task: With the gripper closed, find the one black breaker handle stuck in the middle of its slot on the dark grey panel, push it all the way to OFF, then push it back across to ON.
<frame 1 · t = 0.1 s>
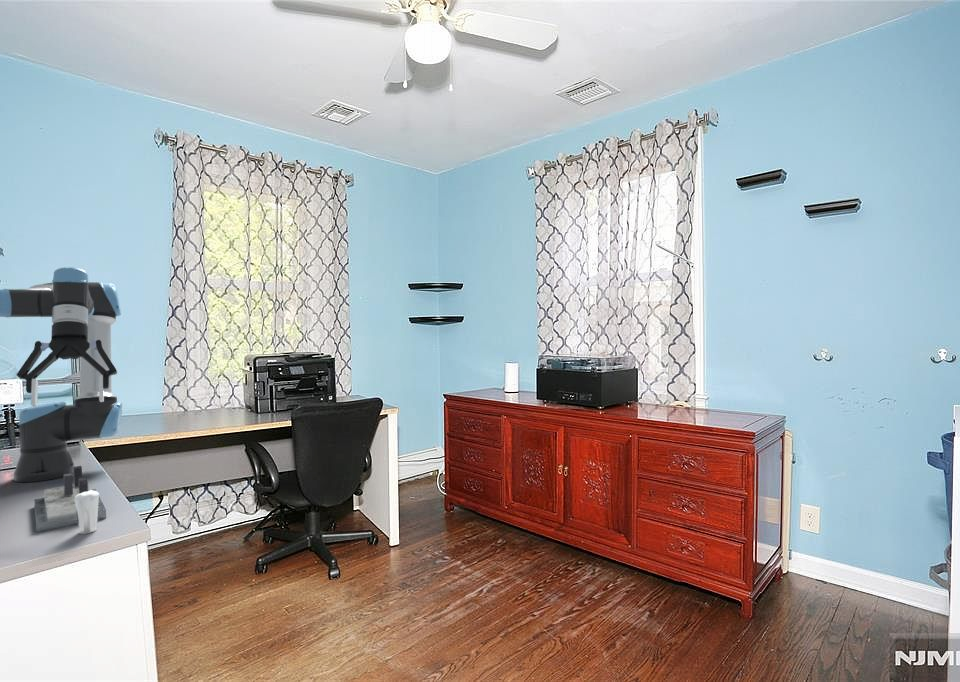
hand: (68, 403, 133), 28 cm above the table, tool tilted 20°, fingers open, 13 cm apart
tripped breaker: (68, 484, 132), point 7 cm above the table, slide at 0.0 cm
milkshake: (86, 532, 119), on the table
breaker panel: (69, 512, 132), on the table
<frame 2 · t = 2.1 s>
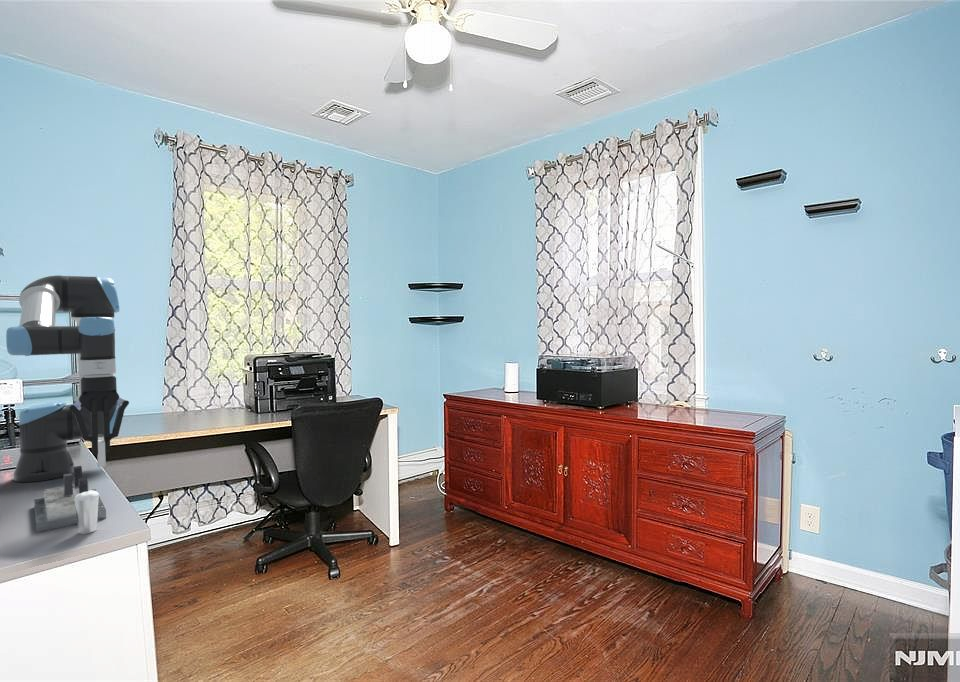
hand: (101, 465, 137), 11 cm above the table, tool pointing down, fingers closed
nothing on the table moved.
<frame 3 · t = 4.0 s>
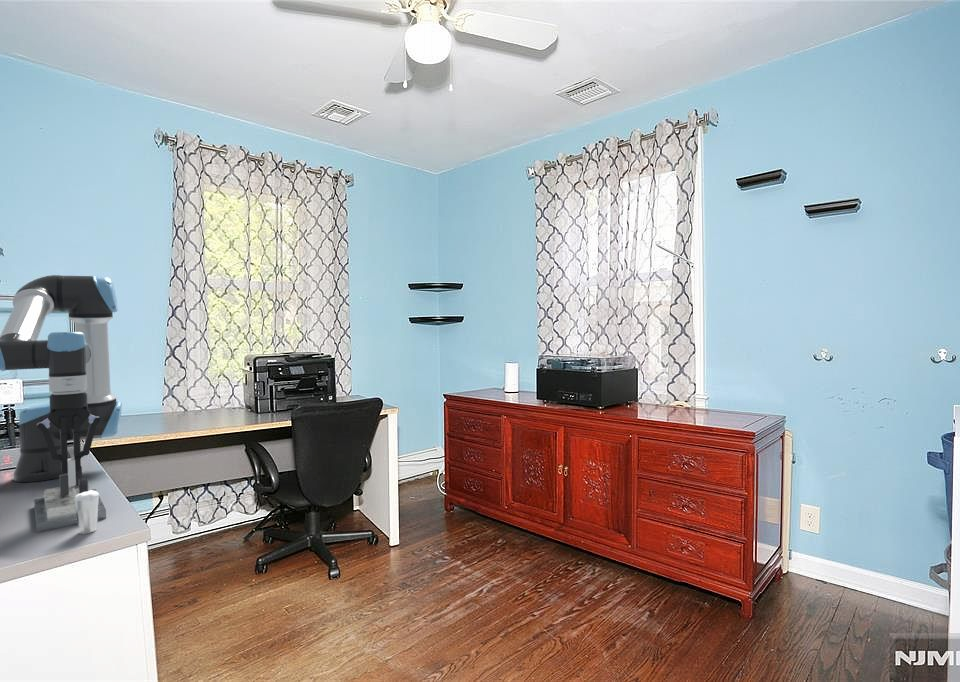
hand: (71, 484, 133), 7 cm above the table, tool pointing down, fingers closed
tripped breaker: (64, 484, 132), point 7 cm above the table, slide at -0.8 cm, touching gripper
everything else where it was.
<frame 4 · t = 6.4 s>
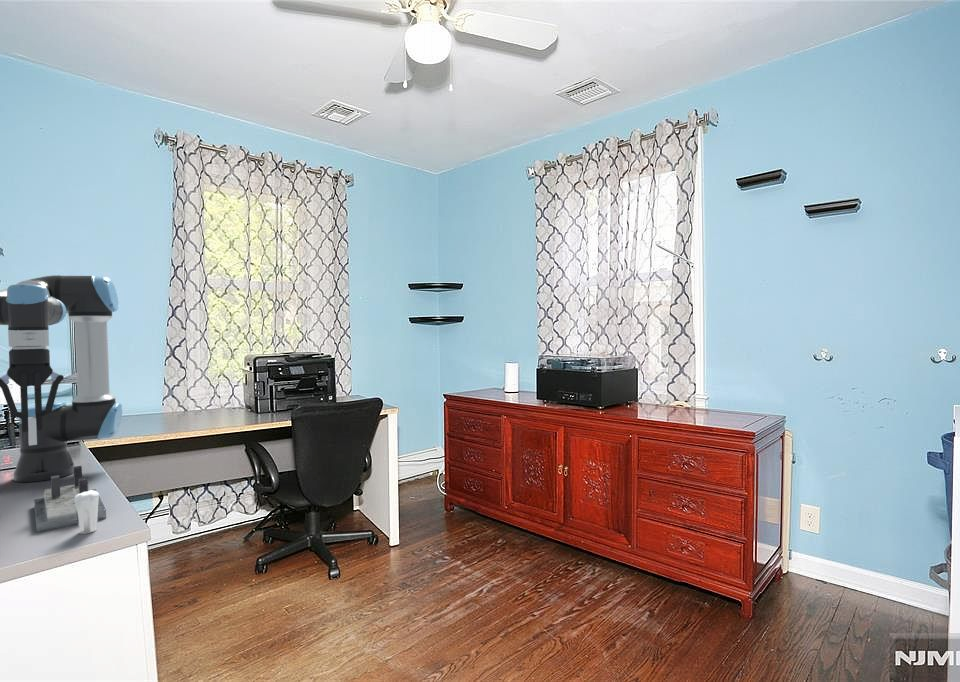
hand: (32, 444, 128), 18 cm above the table, tool pointing down, fingers closed
tripped breaker: (55, 486, 131), point 7 cm above the table, slide at -2.5 cm
everything else where it was.
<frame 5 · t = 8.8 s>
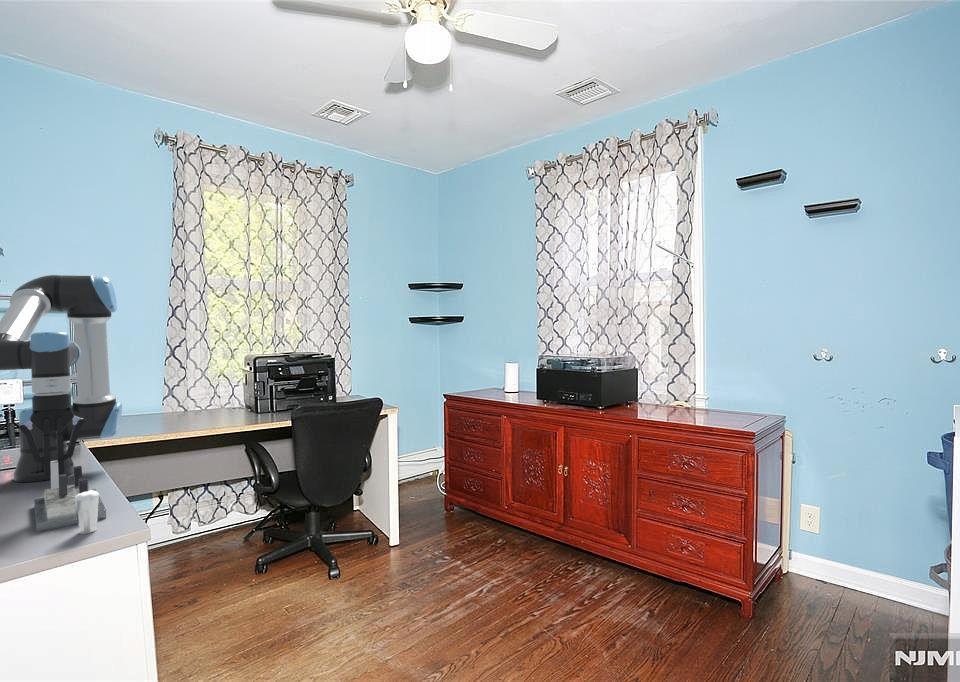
hand: (54, 487, 131), 7 cm above the table, tool pointing down, fingers closed
tripped breaker: (62, 485, 132), point 7 cm above the table, slide at -1.1 cm, touching gripper
everything else where it was.
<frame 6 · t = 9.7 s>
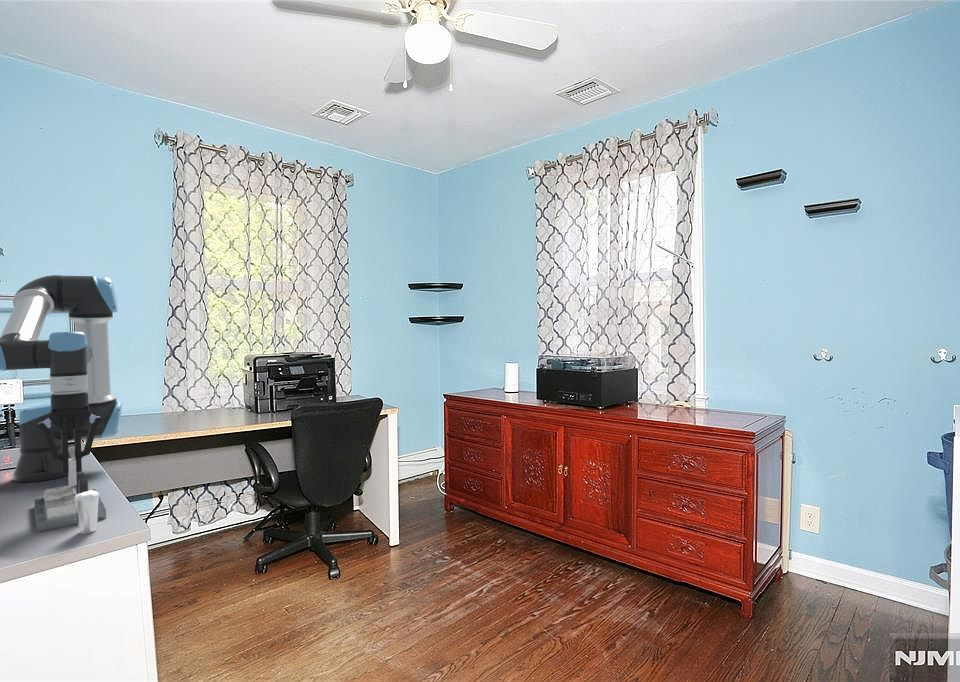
hand: (72, 484, 133), 7 cm above the table, tool pointing down, fingers closed
tripped breaker: (80, 482, 134), point 7 cm above the table, slide at 2.4 cm, touching gripper
everything else where it was.
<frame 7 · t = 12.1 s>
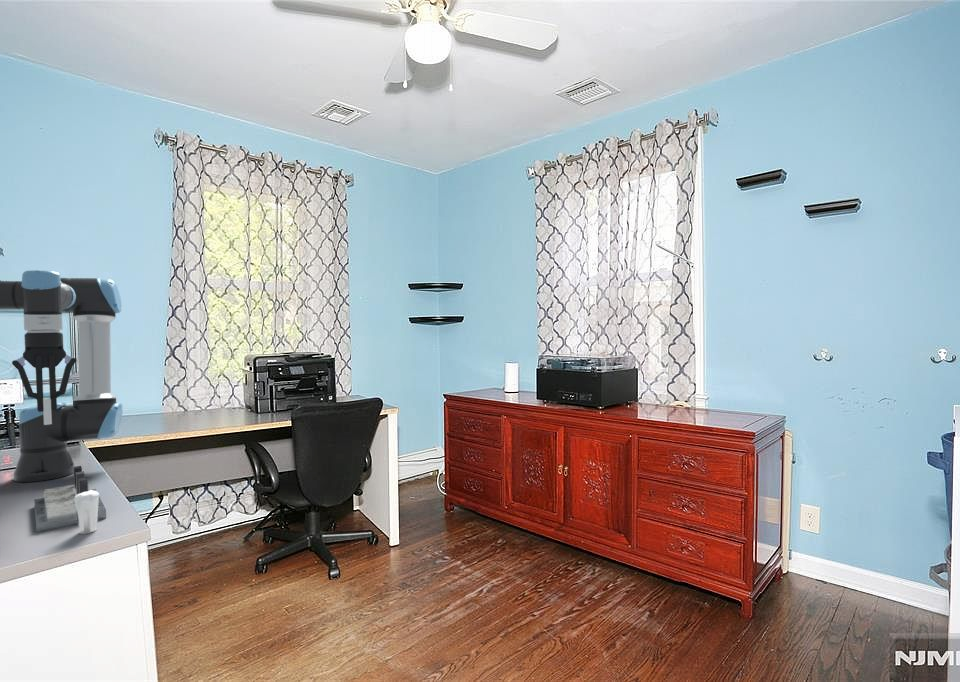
hand: (47, 423, 134), 22 cm above the table, tool pointing down, fingers closed
tripped breaker: (80, 482, 134), point 7 cm above the table, slide at 2.5 cm
everything else where it was.
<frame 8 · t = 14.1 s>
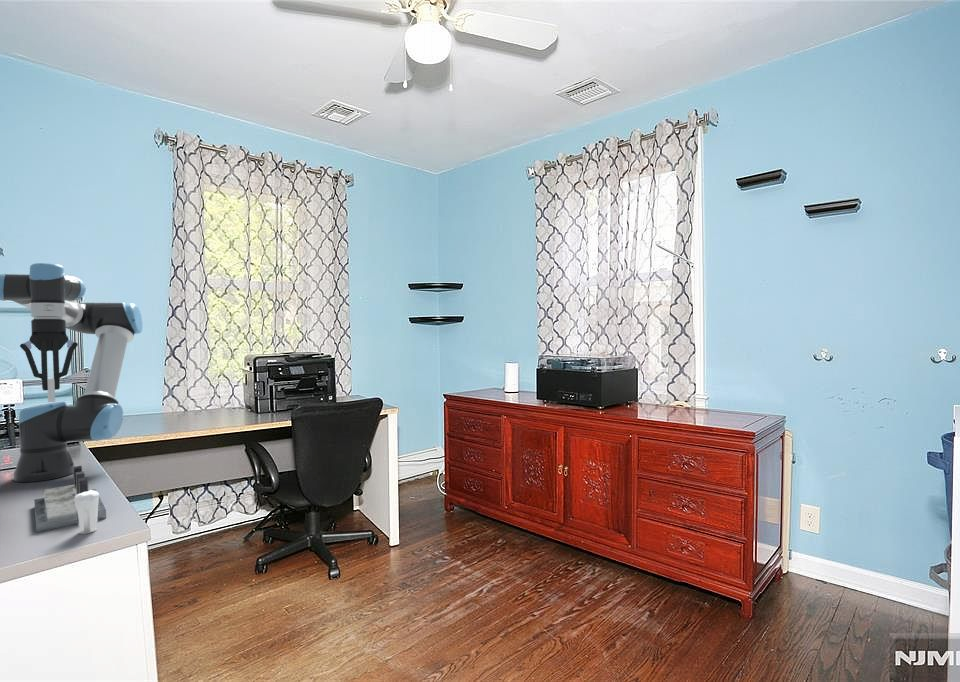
hand: (51, 401, 148), 26 cm above the table, tool pointing down, fingers closed
nothing on the table moved.
at the end: tripped breaker slide at 2.5 cm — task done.
